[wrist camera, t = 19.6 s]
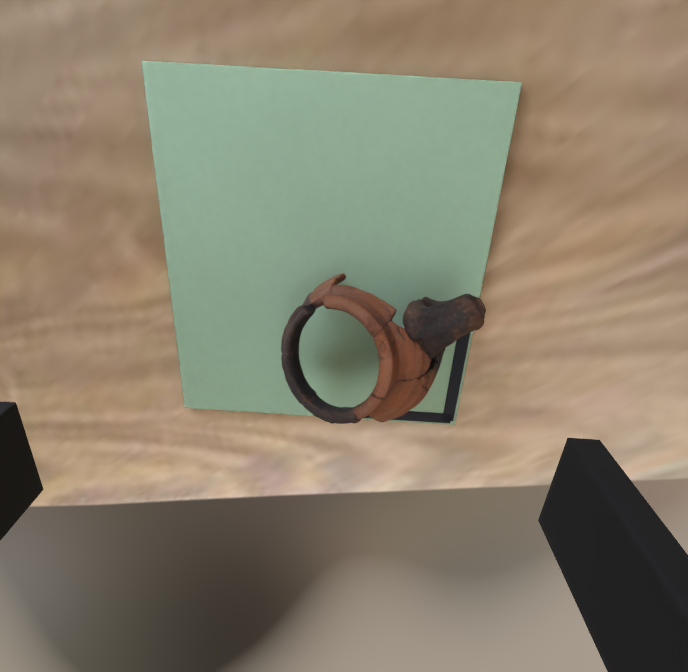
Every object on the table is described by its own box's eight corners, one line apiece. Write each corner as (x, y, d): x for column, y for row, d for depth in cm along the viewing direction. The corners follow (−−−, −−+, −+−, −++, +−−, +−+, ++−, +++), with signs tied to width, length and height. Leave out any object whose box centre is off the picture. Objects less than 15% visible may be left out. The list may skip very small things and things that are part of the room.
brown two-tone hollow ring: (374, 416, 33) (313, 463, 26) (316, 305, 34) (242, 321, 27) (527, 349, 27) (501, 386, 20) (452, 214, 28) (401, 205, 21)
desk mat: (187, 403, 33) (183, 409, 33) (145, 61, 24) (139, 60, 23) (453, 420, 33) (455, 426, 32) (519, 82, 24) (523, 82, 23)
